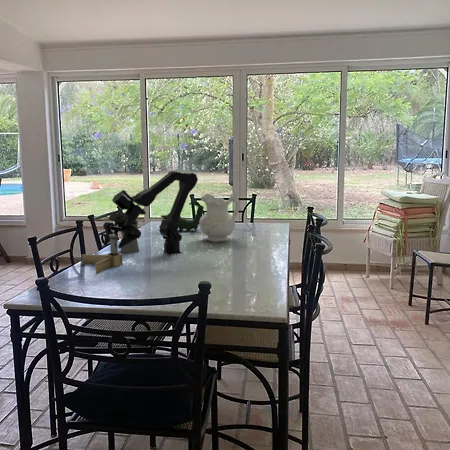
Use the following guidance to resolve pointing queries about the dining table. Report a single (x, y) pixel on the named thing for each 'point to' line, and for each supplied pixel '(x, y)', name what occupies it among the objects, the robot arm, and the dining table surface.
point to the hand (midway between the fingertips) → (111, 246)
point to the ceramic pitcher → (218, 217)
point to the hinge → (102, 261)
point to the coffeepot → (130, 244)
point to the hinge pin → (113, 244)
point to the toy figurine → (189, 224)
